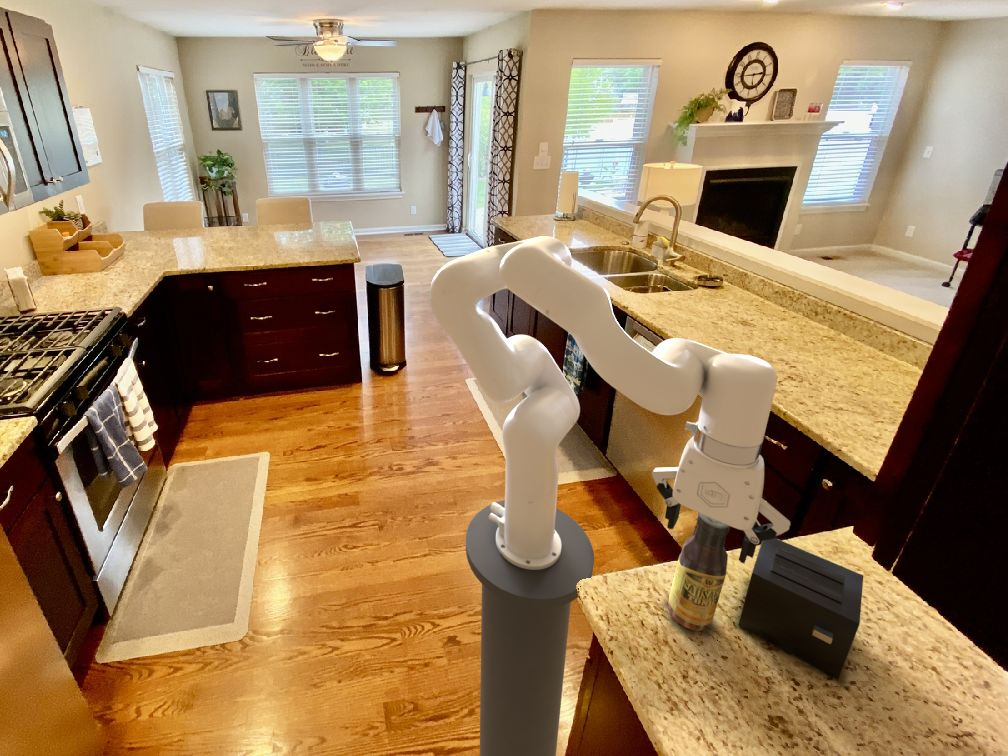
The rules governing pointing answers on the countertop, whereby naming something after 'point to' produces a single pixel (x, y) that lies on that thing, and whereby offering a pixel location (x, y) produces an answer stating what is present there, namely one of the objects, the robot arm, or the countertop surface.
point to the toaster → (803, 605)
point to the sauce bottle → (699, 575)
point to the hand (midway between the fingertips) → (706, 539)
